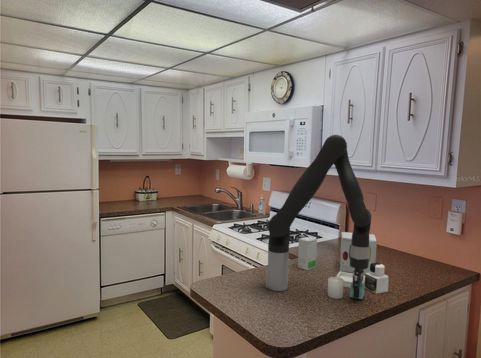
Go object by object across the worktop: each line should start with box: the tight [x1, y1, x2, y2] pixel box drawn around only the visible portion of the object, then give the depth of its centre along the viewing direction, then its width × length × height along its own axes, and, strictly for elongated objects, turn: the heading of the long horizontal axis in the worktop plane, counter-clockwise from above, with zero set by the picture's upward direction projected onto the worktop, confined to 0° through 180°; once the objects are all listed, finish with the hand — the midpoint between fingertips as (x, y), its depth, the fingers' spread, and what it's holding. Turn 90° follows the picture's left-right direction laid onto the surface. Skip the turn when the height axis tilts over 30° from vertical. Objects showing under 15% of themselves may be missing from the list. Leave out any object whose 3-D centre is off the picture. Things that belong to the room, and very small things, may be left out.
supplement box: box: [339, 231, 378, 275], centre depth 185 cm, size 17×13×18 cm
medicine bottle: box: [364, 262, 389, 294], centre depth 159 cm, size 7×7×12 cm
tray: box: [335, 270, 365, 288], centre depth 167 cm, size 12×12×3 cm
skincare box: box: [297, 236, 318, 271], centre depth 187 cm, size 8×7×16 cm
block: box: [349, 282, 366, 300], centre depth 150 cm, size 5×5×5 cm
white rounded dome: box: [327, 276, 344, 299], centre depth 152 cm, size 6×6×7 cm
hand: (357, 294), depth 150 cm, fingers closed on block, 5 cm apart
